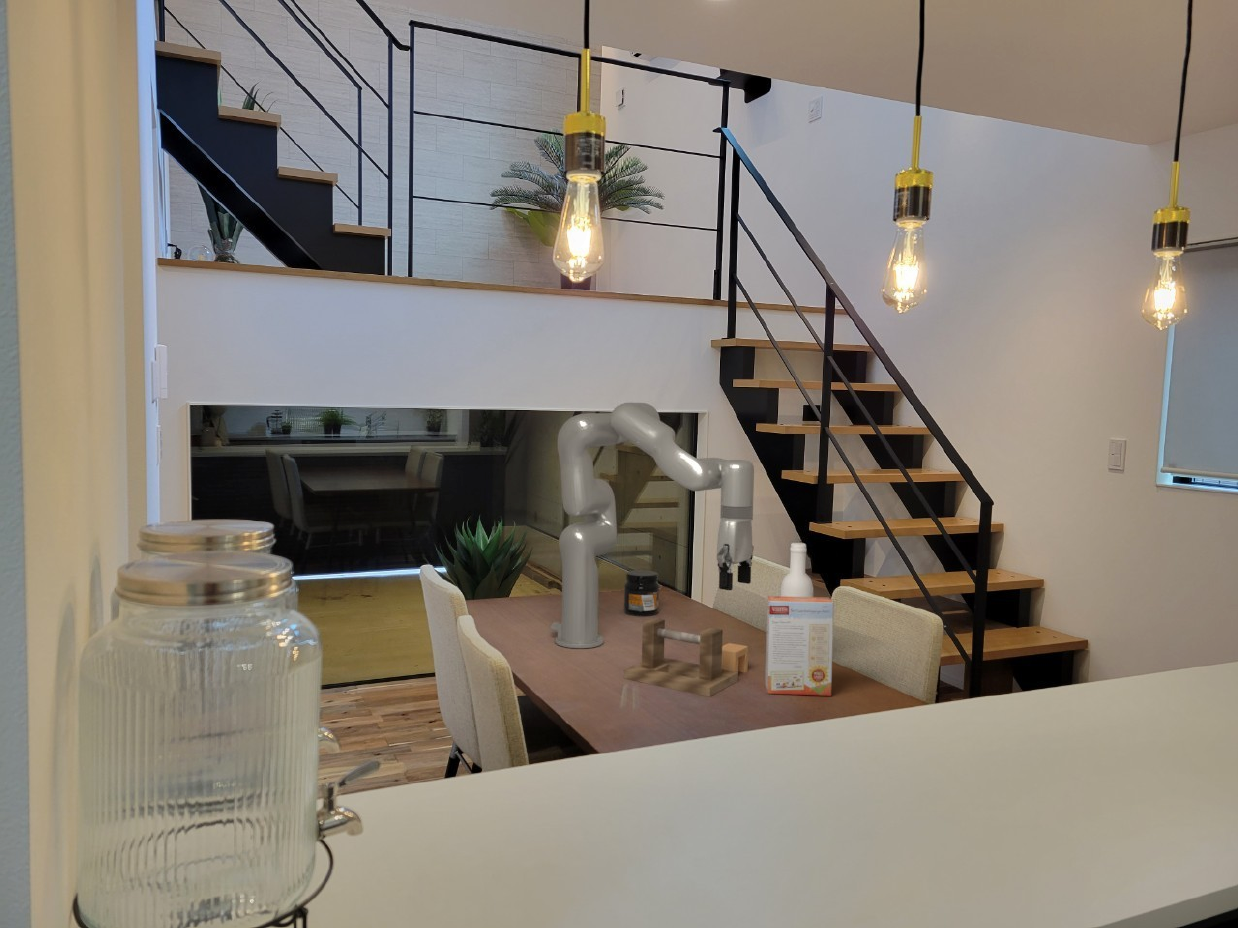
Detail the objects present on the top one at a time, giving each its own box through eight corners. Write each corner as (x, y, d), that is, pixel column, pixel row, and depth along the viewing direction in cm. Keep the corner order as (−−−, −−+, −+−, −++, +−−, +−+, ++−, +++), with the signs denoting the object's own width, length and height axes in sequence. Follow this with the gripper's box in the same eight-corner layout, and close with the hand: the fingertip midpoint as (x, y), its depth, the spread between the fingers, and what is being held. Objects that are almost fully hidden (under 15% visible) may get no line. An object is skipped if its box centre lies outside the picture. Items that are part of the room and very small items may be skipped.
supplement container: (652, 618, 268) (652, 577, 267) (618, 614, 271) (619, 574, 270) (663, 610, 277) (664, 571, 277) (630, 607, 281) (631, 568, 280)
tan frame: (623, 678, 209) (624, 624, 208) (655, 664, 221) (656, 613, 220) (709, 696, 197) (711, 639, 196) (737, 680, 209) (739, 627, 208)
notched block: (715, 674, 214) (716, 649, 213) (728, 667, 219) (729, 642, 219) (734, 678, 211) (735, 652, 211) (747, 671, 217) (748, 646, 216)
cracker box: (827, 688, 205) (830, 596, 203) (831, 697, 199) (835, 602, 197) (764, 685, 206) (767, 594, 204) (766, 694, 200) (769, 600, 198)
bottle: (771, 666, 221) (775, 543, 219) (786, 659, 227) (790, 540, 225) (802, 673, 216) (806, 547, 214) (816, 665, 222) (821, 543, 220)
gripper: (738, 508, 222) (736, 578, 223) (705, 515, 207) (703, 590, 208) (766, 511, 218) (765, 582, 219) (735, 518, 203) (733, 594, 204)
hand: (735, 586), depth 214 cm, fingers open, 9 cm apart
